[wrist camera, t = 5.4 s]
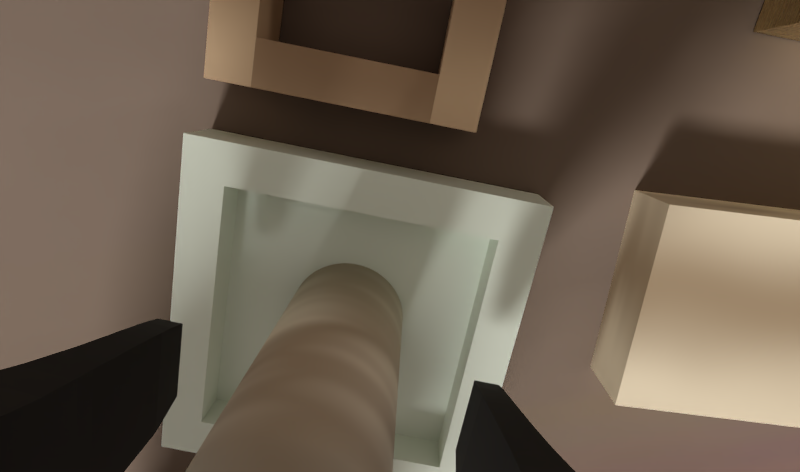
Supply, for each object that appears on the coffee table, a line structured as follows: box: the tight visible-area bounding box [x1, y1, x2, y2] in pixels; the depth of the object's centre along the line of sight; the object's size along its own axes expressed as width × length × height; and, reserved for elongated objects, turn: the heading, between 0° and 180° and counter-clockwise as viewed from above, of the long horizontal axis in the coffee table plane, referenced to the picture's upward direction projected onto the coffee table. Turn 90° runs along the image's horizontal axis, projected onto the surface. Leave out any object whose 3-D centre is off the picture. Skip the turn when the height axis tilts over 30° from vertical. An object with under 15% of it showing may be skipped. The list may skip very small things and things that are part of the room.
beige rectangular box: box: [590, 190, 800, 428], centre depth 15 cm, size 6×8×2 cm
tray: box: [161, 129, 554, 472], centre depth 15 cm, size 10×10×2 cm
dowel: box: [185, 263, 403, 472], centre depth 12 cm, size 4×4×8 cm
